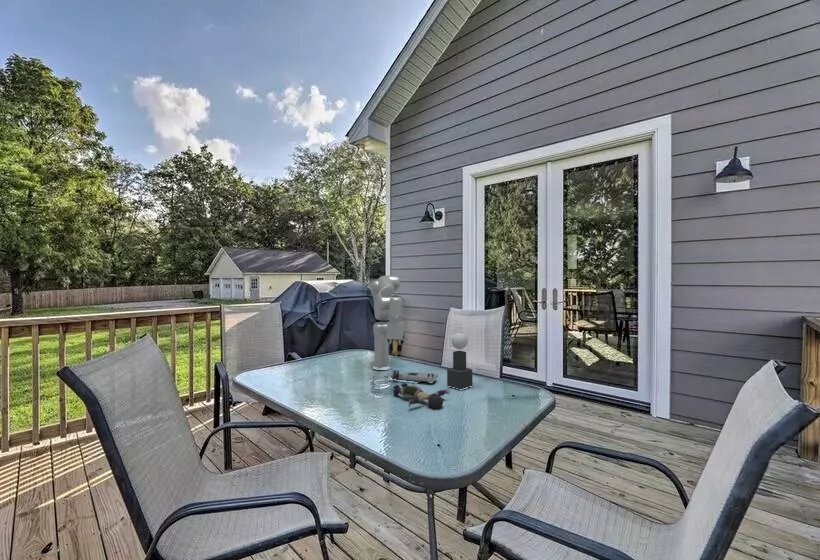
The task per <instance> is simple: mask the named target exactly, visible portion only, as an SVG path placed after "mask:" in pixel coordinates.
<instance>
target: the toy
mask: <svg viewBox="0 0 820 560" xmlns="http://www.w3.org/2000/svg"><path fill="white" fill-rule="evenodd" d="M392 387H393V388H392V389H393V390H392V391H393V396H394V395H401V396H403V398H404V399H408V408H410V406H411V405H415V404H418V403H420V402H422V401H426V403H427V405H429V406H430V407H431V408H432V409H437V410H438V409H441V407H443V404H444V401H445V398H444V395H446V394H447V395H450V393H451V389H449V388H450V387H447V389H440V390H438V391H435V392H433V393H432V394H430V393H428V392H424V390H422V388H421V387H420V386H418V385H417V384H411V385H408V383H404V382H402V383H401V385H397V384H395V385H393V386H392Z"/></svg>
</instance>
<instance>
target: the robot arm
mask: <svg viewBox="0 0 820 560" xmlns="http://www.w3.org/2000/svg"><path fill="white" fill-rule="evenodd" d="M400 287H401V279H400V277H399V276H398V275H382V276H379V278H378V279H376V280H372V281H371V282H370V286H369V288H370V293H371V296H372V298H373V299H372V300H373V311H374V318H375V319H376V320H378V322H375V323H374V324H373V326H372V331H373V332H372V333H373V337H374V361H369V366H372V367H373V366H375V367H378V368H382V367H387V366H390V365H389V363H390V362H389V359H390V357H389V354H390V353H389V352H392V339H394V340H398V342H399V345H398V352H399V353H400V352H402V350H403V344H404V343H405V342H406V341H408V338H407V336H406V330H405V323H404V321H403V299H402V298H401V297H399V296H393V295H394V294H395V292H397V291H398V290H399V289H400ZM389 350H390V351H389Z"/></svg>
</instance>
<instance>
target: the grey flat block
mask: <svg viewBox="0 0 820 560" xmlns="http://www.w3.org/2000/svg"><path fill="white" fill-rule="evenodd" d="M389 377H391V378H392V379H396V380H406V381H414V382H419V381H421V382H428V381H429V382H433V381H434V382H435V381H436V380H437V379H438V378H439V374H438V373H434V372H432V373H429V372H417V371H407V372H405V373H403V374H402V373H400V370H397V369H395V370H392V374H391V375H390V376H389Z"/></svg>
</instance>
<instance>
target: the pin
mask: <svg viewBox="0 0 820 560" xmlns="http://www.w3.org/2000/svg"><path fill="white" fill-rule="evenodd" d="M398 345H399V342H398V340H394V339H392V351H391V352H392V356H399V355H400V352H398Z"/></svg>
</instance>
